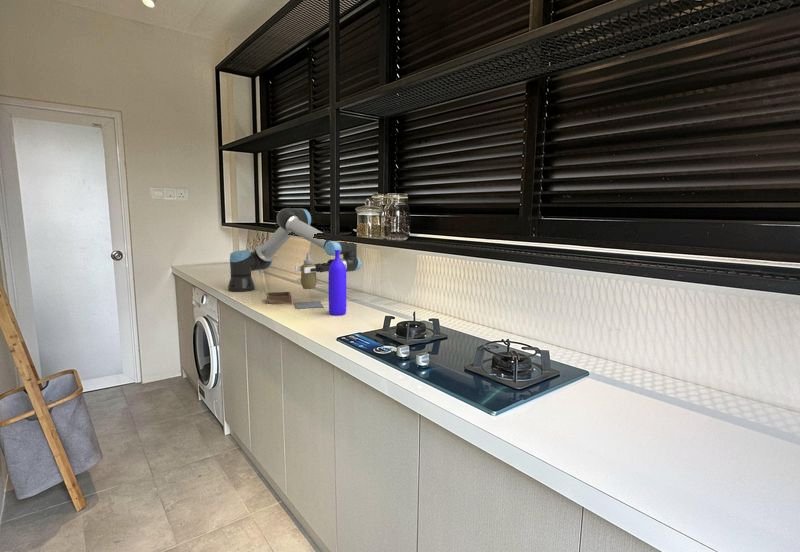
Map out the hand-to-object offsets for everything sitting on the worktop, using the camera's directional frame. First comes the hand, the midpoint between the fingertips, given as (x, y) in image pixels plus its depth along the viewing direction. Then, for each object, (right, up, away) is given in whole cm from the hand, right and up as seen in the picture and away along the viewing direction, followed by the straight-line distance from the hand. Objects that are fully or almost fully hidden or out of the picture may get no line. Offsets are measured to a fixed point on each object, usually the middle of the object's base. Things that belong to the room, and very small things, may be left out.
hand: (300, 269), depth 204 cm
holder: (-15, -17, +14) cm, 26 cm away
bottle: (+20, -21, -10) cm, 31 cm away
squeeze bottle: (+3, -10, +5) cm, 11 cm away
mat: (+3, -18, +7) cm, 19 cm away
